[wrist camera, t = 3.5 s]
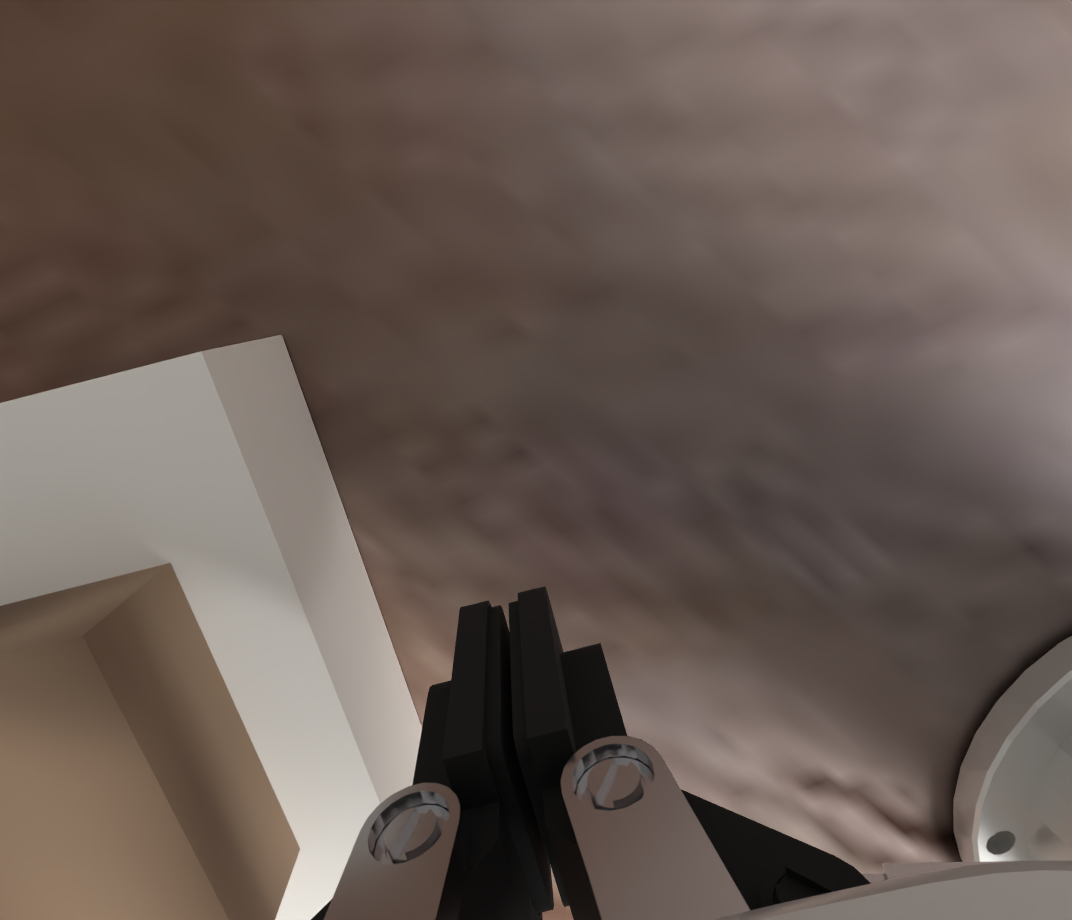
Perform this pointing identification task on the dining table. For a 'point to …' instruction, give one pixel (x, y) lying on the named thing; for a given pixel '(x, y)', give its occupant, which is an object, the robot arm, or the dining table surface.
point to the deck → (226, 568)
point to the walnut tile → (129, 765)
